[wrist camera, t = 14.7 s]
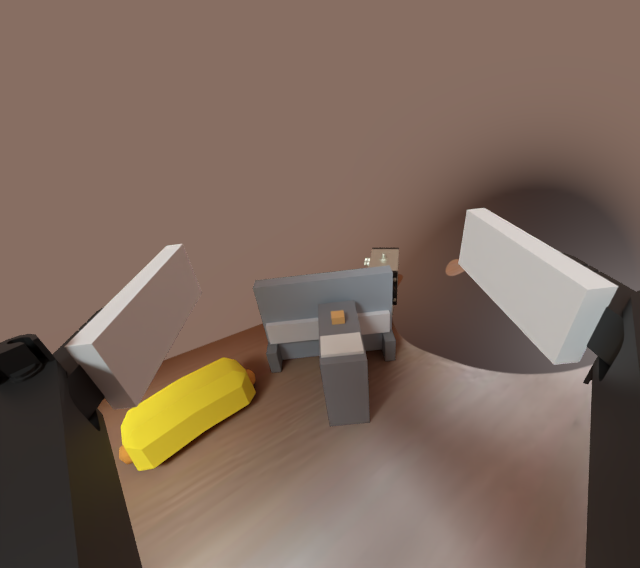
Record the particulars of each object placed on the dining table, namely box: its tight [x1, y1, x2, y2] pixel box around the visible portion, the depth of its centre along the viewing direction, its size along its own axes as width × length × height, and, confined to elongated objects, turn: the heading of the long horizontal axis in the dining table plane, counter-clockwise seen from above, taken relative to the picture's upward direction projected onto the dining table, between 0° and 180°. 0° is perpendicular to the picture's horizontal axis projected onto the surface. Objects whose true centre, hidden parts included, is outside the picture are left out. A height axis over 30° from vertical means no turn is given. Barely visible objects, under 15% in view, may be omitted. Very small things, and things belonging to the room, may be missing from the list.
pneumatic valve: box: [364, 248, 399, 315], centre depth 51 cm, size 6×12×12 cm, turn 166°
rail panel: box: [253, 265, 396, 373], centre depth 42 cm, size 19×4×14 cm, turn 92°
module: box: [318, 300, 370, 426], centre depth 38 cm, size 5×11×12 cm, turn 2°
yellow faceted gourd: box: [119, 357, 256, 471], centre depth 37 cm, size 18×7×8 cm
